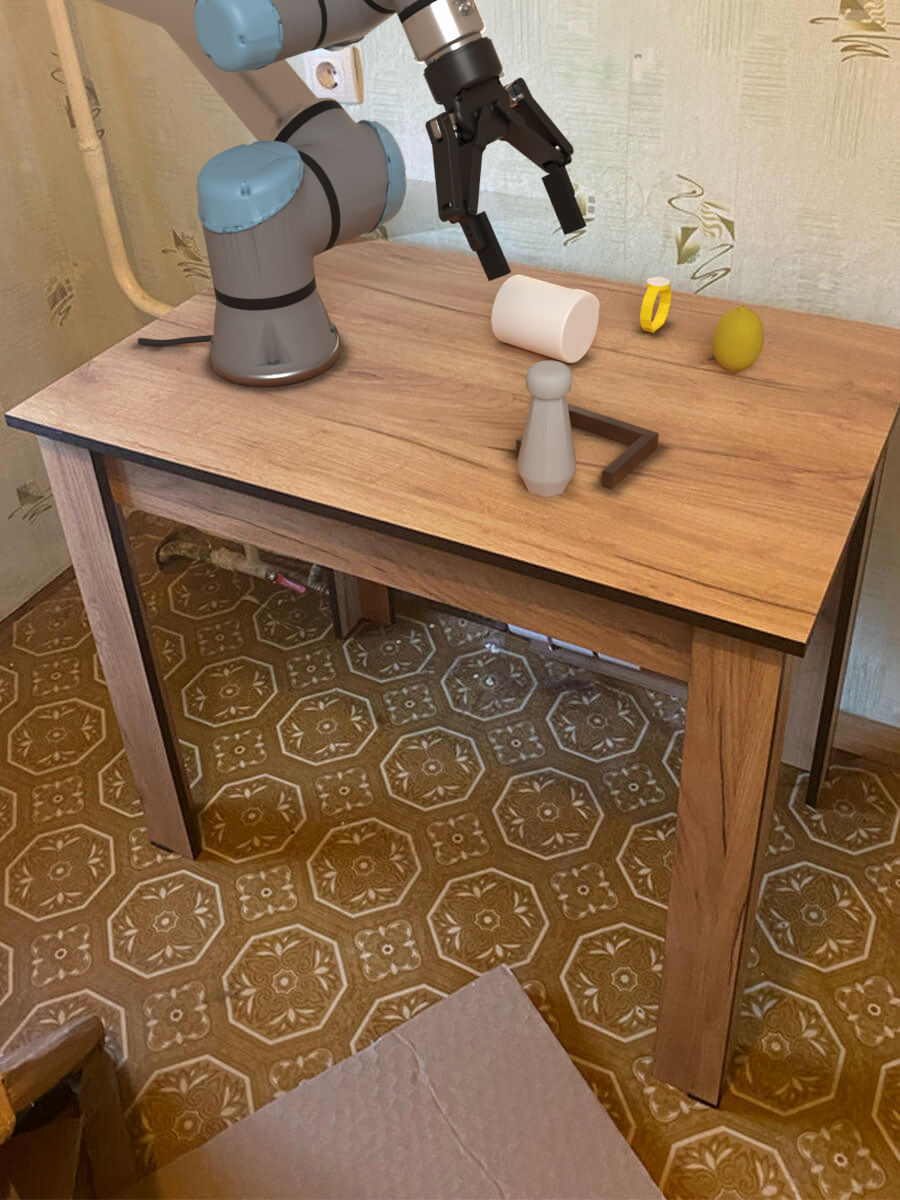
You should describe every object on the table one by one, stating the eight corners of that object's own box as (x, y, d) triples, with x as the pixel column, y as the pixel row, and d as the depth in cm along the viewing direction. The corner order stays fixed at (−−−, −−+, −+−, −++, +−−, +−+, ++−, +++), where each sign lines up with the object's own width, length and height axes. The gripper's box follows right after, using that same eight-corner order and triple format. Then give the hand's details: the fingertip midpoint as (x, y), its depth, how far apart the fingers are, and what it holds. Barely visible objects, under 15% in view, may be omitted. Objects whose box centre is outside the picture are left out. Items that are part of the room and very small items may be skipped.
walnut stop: (515, 454, 114) (516, 439, 113) (564, 416, 120) (564, 402, 118) (611, 489, 108) (612, 474, 107) (657, 447, 114) (659, 432, 113)
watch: (654, 340, 132) (658, 293, 129) (632, 335, 134) (636, 288, 130) (674, 320, 136) (679, 274, 132) (653, 316, 137) (657, 270, 134)
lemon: (737, 389, 123) (746, 322, 117) (698, 372, 126) (706, 306, 121) (768, 372, 125) (779, 306, 120) (730, 356, 129) (738, 291, 123)
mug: (560, 374, 127) (562, 309, 122) (490, 351, 132) (489, 288, 127) (616, 335, 134) (620, 272, 129) (548, 314, 139) (549, 253, 134)
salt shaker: (504, 486, 110) (504, 368, 101) (543, 463, 113) (545, 346, 104) (549, 509, 106) (552, 388, 98) (587, 484, 109) (593, 365, 101)
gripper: (394, 69, 100) (490, 288, 107) (554, 5, 114) (630, 202, 121) (346, 100, 106) (441, 306, 113) (504, 35, 120) (579, 222, 127)
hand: (539, 253), depth 117 cm, fingers open, 13 cm apart
